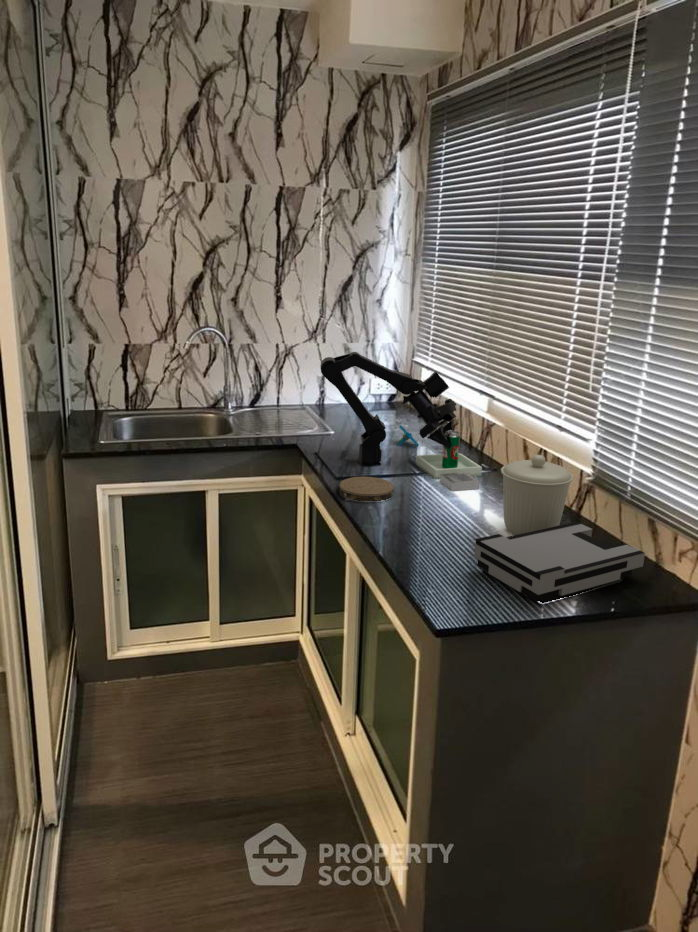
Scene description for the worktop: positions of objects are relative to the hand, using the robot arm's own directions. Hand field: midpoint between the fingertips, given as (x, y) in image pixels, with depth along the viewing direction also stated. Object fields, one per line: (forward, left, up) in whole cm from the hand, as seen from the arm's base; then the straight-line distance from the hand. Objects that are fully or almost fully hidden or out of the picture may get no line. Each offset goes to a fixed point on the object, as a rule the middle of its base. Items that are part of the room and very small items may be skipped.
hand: (454, 445), depth 246 cm
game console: (-9, -77, -9) cm, 78 cm away
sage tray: (-1, +1, -9) cm, 9 cm away
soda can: (-1, +1, -8) cm, 8 cm away
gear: (-3, +31, -9) cm, 33 cm away
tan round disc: (-35, -15, -9) cm, 39 cm away
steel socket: (-4, -14, -9) cm, 17 cm away
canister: (-2, -53, -9) cm, 54 cm away
